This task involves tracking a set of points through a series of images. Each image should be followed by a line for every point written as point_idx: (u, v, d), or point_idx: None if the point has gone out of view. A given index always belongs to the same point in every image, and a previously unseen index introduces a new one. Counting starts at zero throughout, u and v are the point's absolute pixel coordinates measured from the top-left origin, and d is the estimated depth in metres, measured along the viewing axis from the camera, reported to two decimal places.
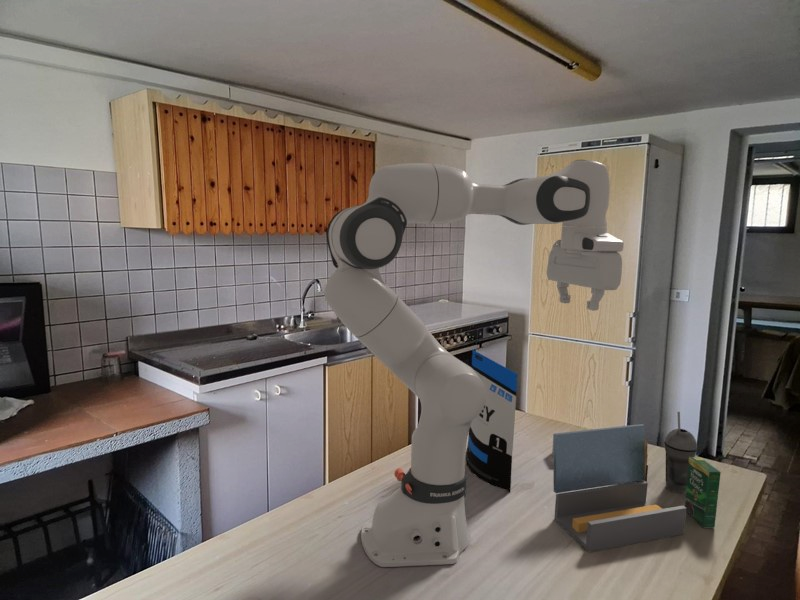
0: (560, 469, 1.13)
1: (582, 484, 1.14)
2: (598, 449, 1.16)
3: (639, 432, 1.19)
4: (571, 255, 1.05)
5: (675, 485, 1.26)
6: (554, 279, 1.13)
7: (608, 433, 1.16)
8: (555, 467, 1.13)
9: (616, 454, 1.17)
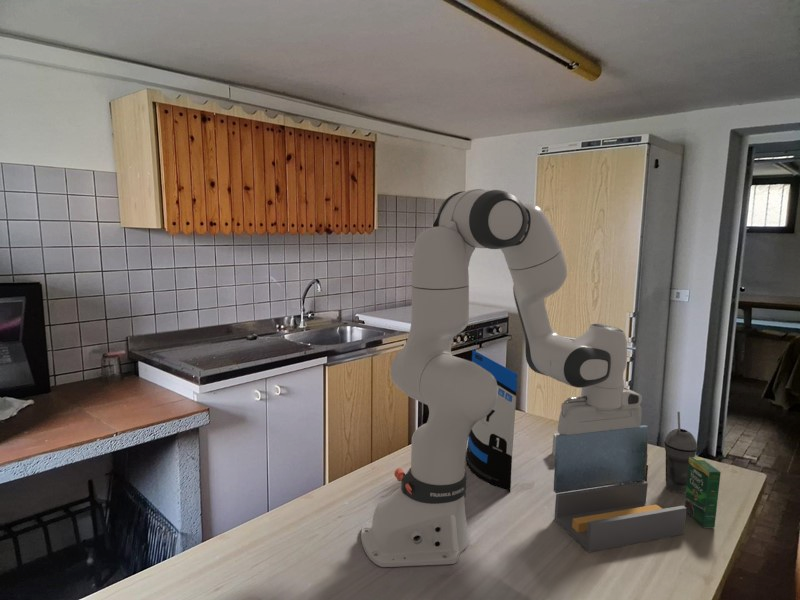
0: (561, 470, 1.12)
1: (582, 484, 1.14)
2: (600, 450, 1.15)
3: (642, 433, 1.18)
4: (612, 412, 1.13)
5: (675, 485, 1.26)
6: None
7: (611, 434, 1.15)
8: (556, 468, 1.12)
9: (617, 455, 1.16)
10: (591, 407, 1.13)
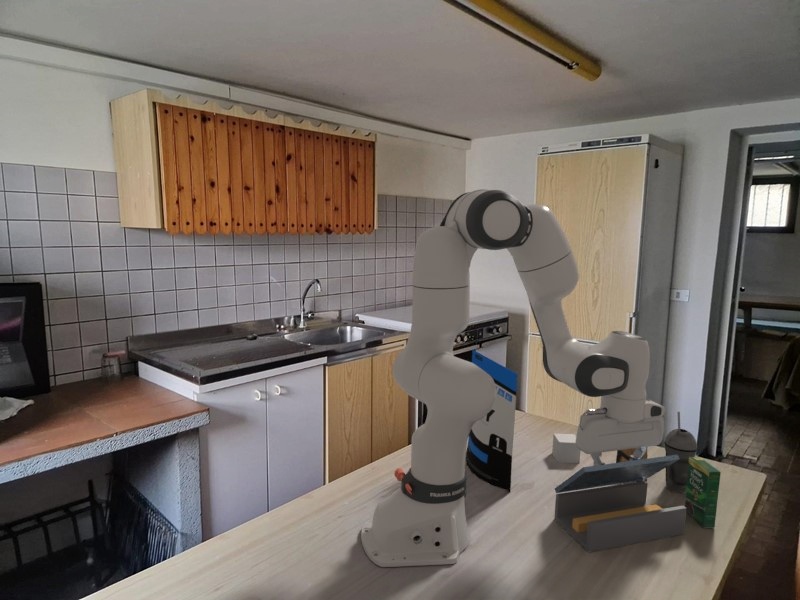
0: (571, 484, 1.09)
1: (584, 487, 1.14)
2: (619, 473, 1.09)
3: (669, 462, 1.10)
4: (634, 424, 1.07)
5: (675, 485, 1.26)
6: (598, 451, 1.07)
7: (638, 466, 1.07)
8: (567, 482, 1.08)
9: (633, 473, 1.12)
10: (611, 419, 1.07)
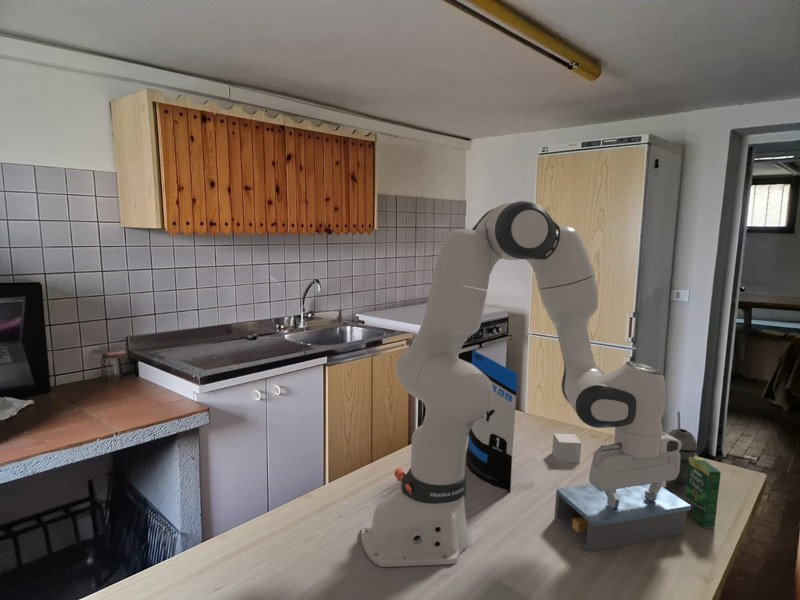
0: None
1: None
2: None
3: None
4: (650, 460, 1.03)
5: (675, 485, 1.26)
6: (613, 488, 1.03)
7: None
8: (571, 505, 1.07)
9: None
10: (626, 455, 1.03)
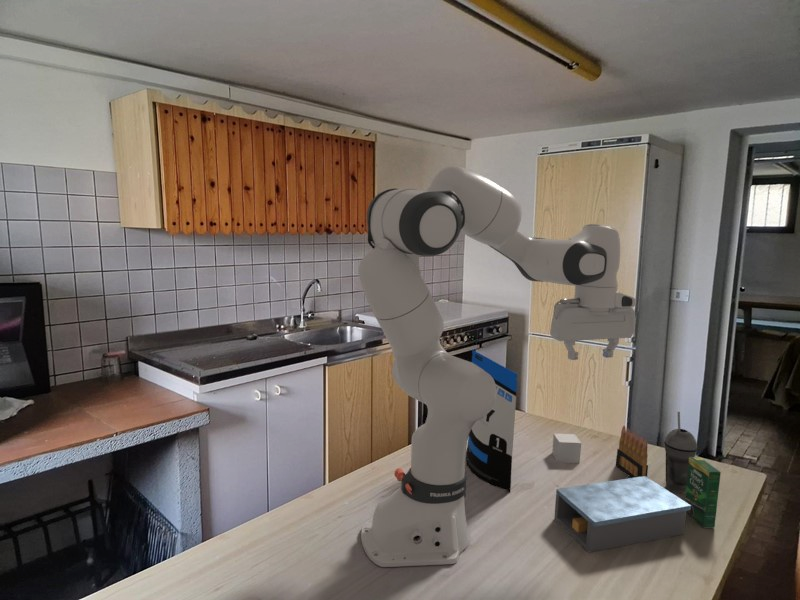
0: None
1: None
2: None
3: None
4: (605, 313, 1.12)
5: (675, 485, 1.26)
6: (571, 339, 1.12)
7: None
8: (571, 505, 1.07)
9: None
10: (584, 308, 1.12)
